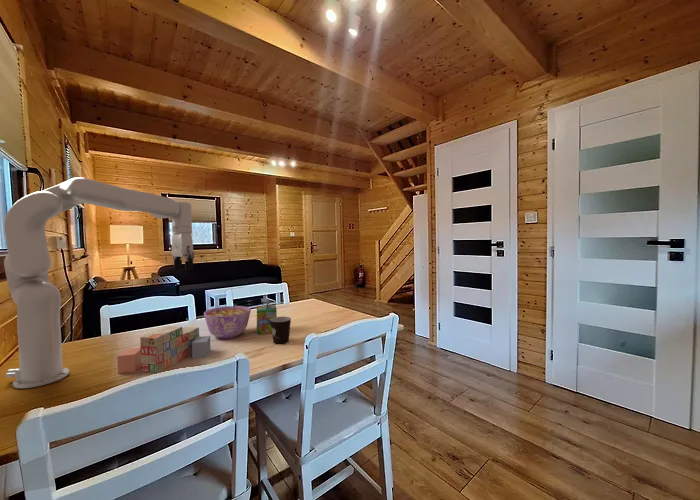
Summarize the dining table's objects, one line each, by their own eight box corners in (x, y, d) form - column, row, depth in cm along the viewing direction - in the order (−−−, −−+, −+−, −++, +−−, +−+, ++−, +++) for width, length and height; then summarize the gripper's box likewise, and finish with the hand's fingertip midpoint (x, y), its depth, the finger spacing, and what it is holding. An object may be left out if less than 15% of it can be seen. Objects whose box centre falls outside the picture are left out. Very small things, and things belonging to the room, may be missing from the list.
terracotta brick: (118, 373, 101) (117, 356, 100) (127, 365, 107) (127, 348, 107) (135, 371, 102) (134, 354, 102) (143, 363, 109) (143, 347, 108)
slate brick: (192, 358, 113) (191, 343, 112) (196, 351, 120) (196, 337, 119) (206, 357, 114) (206, 341, 114) (210, 350, 121) (210, 335, 120)
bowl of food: (231, 345, 126) (230, 318, 126) (193, 340, 133) (193, 314, 132) (260, 331, 145) (259, 307, 145) (226, 327, 152) (225, 304, 151)
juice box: (256, 329, 148) (256, 299, 147) (275, 327, 151) (275, 298, 150) (256, 335, 139) (256, 303, 139) (277, 333, 142) (276, 302, 141)
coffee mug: (293, 344, 127) (292, 320, 127) (272, 346, 124) (271, 322, 124) (288, 335, 138) (287, 314, 138) (268, 338, 135) (268, 316, 134)
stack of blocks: (186, 349, 123) (185, 319, 122) (200, 350, 122) (199, 319, 121) (140, 372, 102) (139, 336, 101) (156, 373, 101) (155, 337, 100)
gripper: (163, 230, 133) (165, 269, 134) (183, 230, 123) (184, 271, 124) (181, 231, 139) (182, 267, 140) (201, 230, 129) (202, 270, 130)
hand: (183, 269), depth 132 cm, fingers open, 9 cm apart
